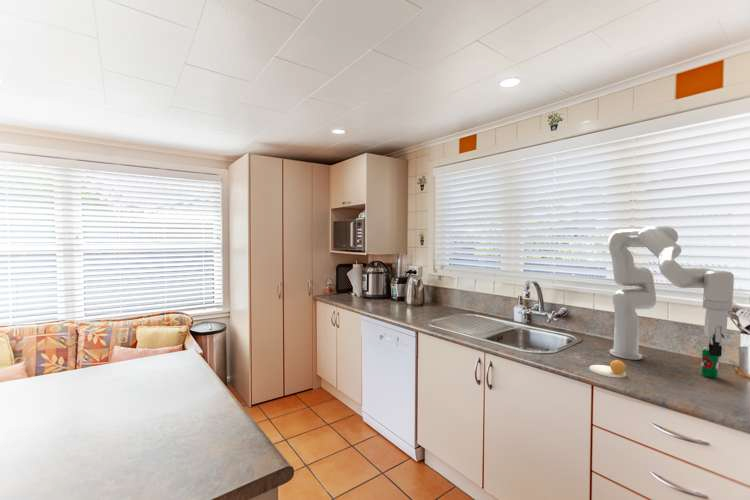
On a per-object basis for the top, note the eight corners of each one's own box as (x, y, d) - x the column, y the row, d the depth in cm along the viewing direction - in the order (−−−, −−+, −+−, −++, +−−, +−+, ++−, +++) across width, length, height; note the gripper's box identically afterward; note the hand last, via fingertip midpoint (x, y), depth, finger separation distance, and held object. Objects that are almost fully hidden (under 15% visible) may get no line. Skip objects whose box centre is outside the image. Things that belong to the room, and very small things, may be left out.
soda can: (719, 379, 137) (721, 350, 136) (702, 377, 140) (703, 347, 139) (715, 375, 141) (717, 346, 141) (699, 372, 144) (700, 344, 143)
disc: (591, 362, 155) (591, 362, 155) (627, 370, 146) (627, 369, 146) (587, 372, 144) (587, 371, 144) (625, 380, 136) (625, 379, 136)
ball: (627, 362, 143) (623, 374, 144) (612, 356, 146) (608, 368, 147) (628, 365, 139) (624, 378, 139) (612, 359, 142) (608, 372, 142)
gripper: (700, 300, 132) (698, 347, 133) (705, 307, 120) (703, 358, 121) (728, 303, 127) (725, 352, 128) (736, 310, 116) (733, 363, 117)
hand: (714, 355), depth 125 cm, fingers closed
